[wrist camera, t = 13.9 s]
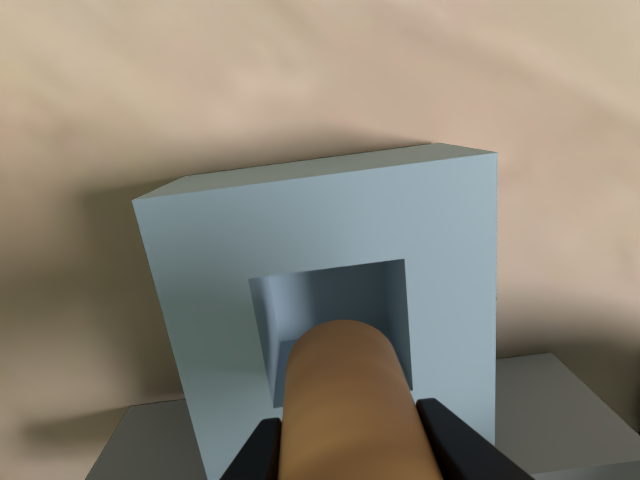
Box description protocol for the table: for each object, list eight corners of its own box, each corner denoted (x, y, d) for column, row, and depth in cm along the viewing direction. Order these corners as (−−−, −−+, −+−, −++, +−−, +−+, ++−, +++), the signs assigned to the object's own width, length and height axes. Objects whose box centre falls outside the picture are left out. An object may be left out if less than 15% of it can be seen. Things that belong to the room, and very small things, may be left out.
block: (439, 142, 15) (497, 152, 11) (446, 363, 18) (494, 445, 14) (184, 175, 15) (131, 200, 11) (233, 390, 18) (208, 482, 14)
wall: (551, 352, 18) (662, 457, 13) (549, 387, 19) (654, 503, 13) (129, 406, 18) (50, 535, 13) (140, 440, 19) (69, 578, 13)
